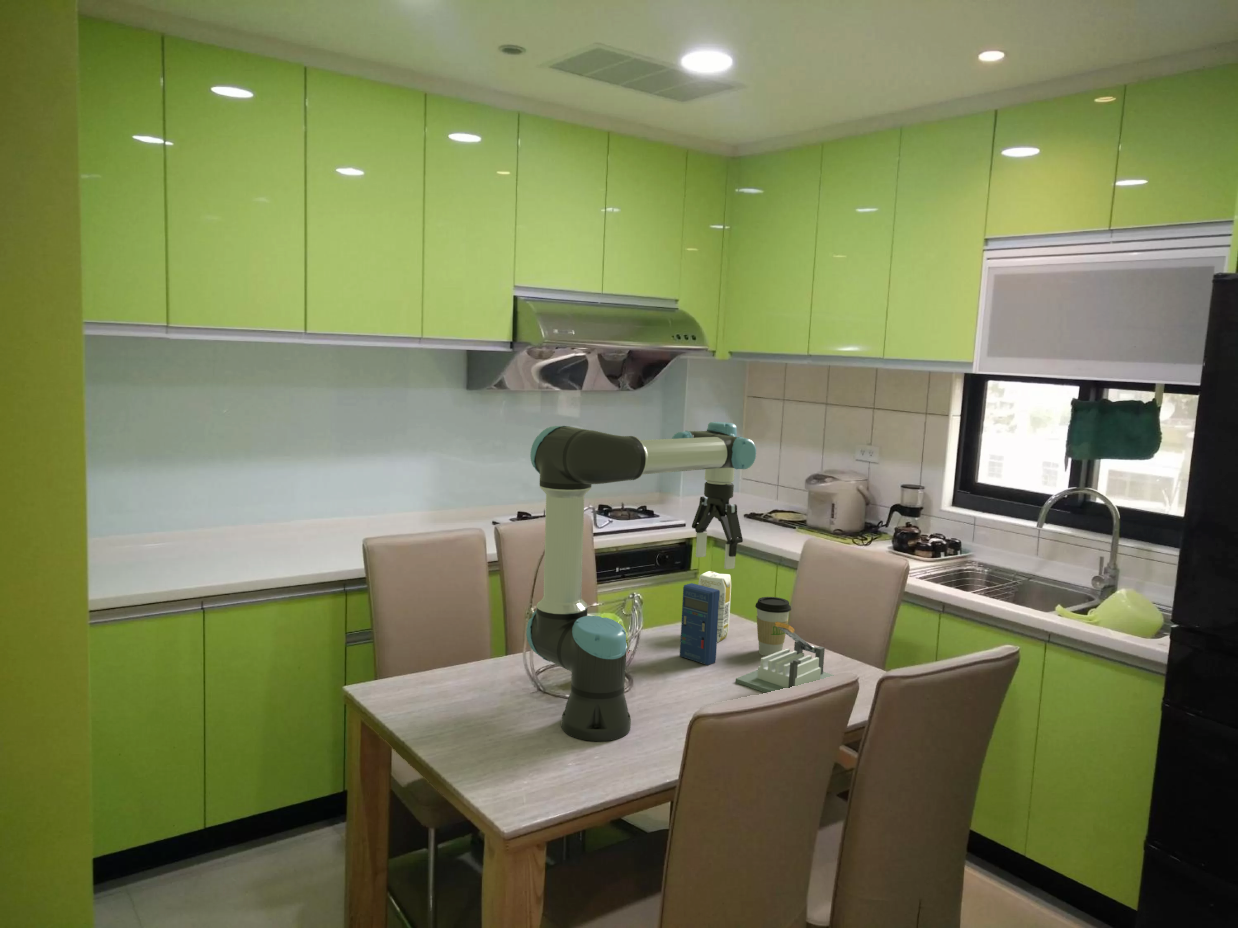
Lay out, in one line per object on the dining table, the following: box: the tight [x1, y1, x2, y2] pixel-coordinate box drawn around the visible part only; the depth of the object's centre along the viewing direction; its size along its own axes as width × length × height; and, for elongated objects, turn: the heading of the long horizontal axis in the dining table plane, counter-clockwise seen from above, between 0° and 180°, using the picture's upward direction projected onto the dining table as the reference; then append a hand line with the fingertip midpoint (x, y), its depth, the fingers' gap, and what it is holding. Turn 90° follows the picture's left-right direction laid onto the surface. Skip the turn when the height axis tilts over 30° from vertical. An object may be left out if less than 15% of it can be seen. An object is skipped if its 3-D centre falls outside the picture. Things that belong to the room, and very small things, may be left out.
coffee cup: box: [755, 596, 792, 657], centre depth 250 cm, size 10×10×15 cm
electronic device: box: [679, 582, 720, 666], centre depth 242 cm, size 10×5×20 cm, turn 48°
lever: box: [775, 622, 818, 654], centre depth 229 cm, size 17×4×2 cm
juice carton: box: [697, 570, 732, 643], centre depth 261 cm, size 8×9×19 cm
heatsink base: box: [735, 640, 835, 694], centre depth 228 cm, size 22×18×9 cm
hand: (714, 562), depth 234 cm, fingers open, 13 cm apart
